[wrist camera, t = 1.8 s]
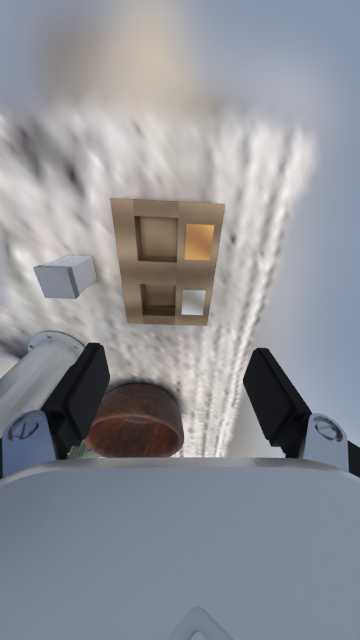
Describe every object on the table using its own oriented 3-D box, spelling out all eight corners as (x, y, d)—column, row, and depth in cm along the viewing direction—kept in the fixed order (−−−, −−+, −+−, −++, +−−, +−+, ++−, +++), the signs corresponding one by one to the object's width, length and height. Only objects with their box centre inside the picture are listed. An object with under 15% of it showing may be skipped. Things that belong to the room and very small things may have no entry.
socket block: (203, 311, 35) (207, 326, 30) (133, 309, 34) (127, 324, 30) (217, 205, 25) (225, 203, 21) (121, 200, 25) (109, 197, 20)
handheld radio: (71, 443, 64) (120, 423, 57) (78, 446, 66) (127, 427, 59) (61, 466, 59) (115, 447, 52) (69, 468, 60) (123, 450, 53)
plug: (97, 280, 31) (75, 298, 24) (74, 279, 31) (45, 297, 24) (92, 255, 29) (66, 268, 22) (67, 254, 29) (33, 267, 22)
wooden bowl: (196, 412, 54) (200, 451, 46) (131, 432, 60) (124, 469, 52) (154, 363, 43) (148, 401, 34) (78, 393, 48) (57, 433, 40)
